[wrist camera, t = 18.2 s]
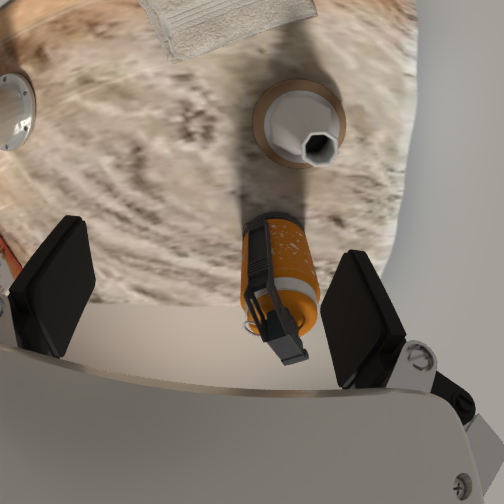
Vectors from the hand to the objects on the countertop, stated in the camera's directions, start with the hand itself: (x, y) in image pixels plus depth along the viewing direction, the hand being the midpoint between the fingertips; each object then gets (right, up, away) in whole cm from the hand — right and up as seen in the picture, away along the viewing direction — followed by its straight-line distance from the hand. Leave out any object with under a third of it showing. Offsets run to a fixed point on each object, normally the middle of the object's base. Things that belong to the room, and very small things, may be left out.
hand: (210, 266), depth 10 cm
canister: (+4, +3, +33) cm, 33 cm away
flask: (+7, +15, +20) cm, 26 cm away
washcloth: (-2, +30, +15) cm, 33 cm away
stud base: (+7, +16, +23) cm, 29 cm away
